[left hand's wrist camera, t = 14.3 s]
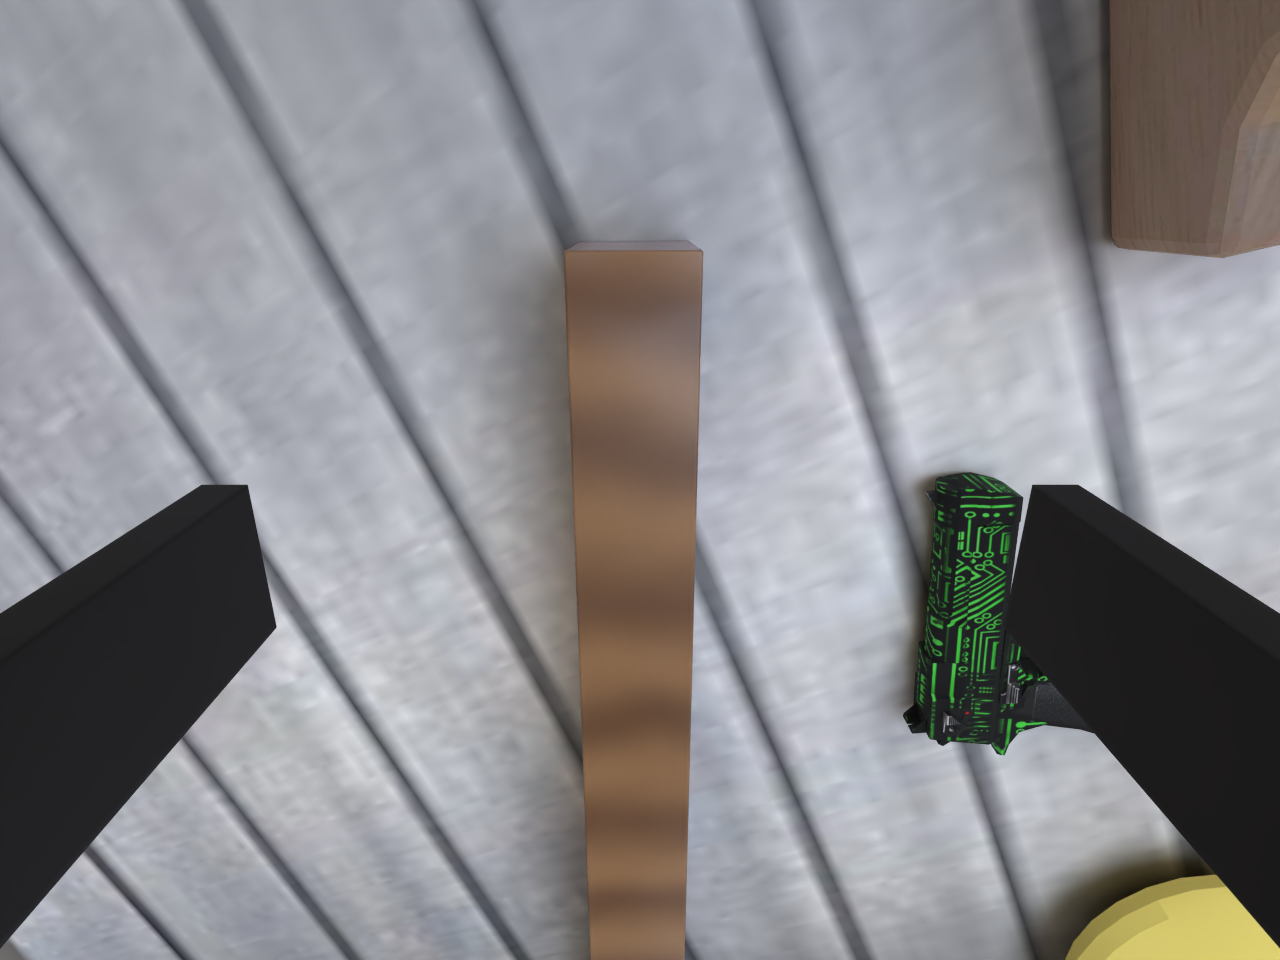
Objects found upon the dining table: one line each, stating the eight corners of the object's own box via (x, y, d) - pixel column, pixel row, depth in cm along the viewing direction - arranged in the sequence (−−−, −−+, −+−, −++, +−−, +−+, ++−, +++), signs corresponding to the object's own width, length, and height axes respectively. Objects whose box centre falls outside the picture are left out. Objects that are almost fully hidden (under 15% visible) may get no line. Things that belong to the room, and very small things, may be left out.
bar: (579, 241, 33) (563, 250, 26) (690, 240, 33) (703, 250, 26) (603, 1023, 51) (597, 1150, 44) (674, 1023, 51) (679, 1149, 44)
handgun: (1162, 770, 40) (893, 771, 39) (1126, 734, 43) (874, 735, 42) (1253, 494, 35) (941, 490, 34) (1205, 473, 37) (916, 470, 37)
